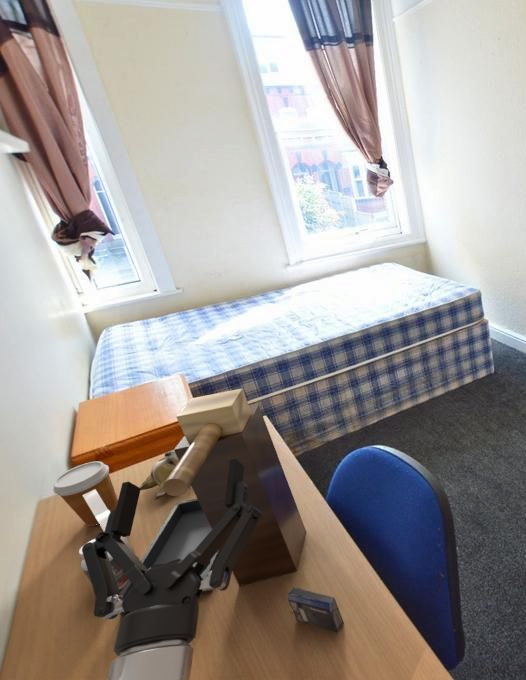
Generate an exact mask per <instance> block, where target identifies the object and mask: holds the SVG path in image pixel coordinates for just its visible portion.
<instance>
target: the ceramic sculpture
mask: <svg viewBox="0 0 526 680" xmlns="http://www.w3.org/2000/svg"><path fill="white" fill-rule="evenodd" d="M178 462H179V460H178V457H177V455H176V453H175V451H174V450H170V451H168V452H165V453H164V457H163V458H160V459H159V460H158V461H157V462H155V463H154V464H153V465H152V468H151V469H150V475H148V476H147V477H146V479H145V480H144V481H143V482H142V483H141V485H139V486H138V487H139V488H141V490H140V491H145V490H146V491H147V490H150V489H153V488H155V487H158V488H157V492H156V495H155V497H154V500H159V499H162V498H164V497H166V496H170V495H169V494H167V493H166V492H165V491H164V489H163V485H164V483H165V481H166V480H167V478H168V477H169V476H170V474H171V473H172V471H173V470H174V468H175V467H176V465H177V464H178Z"/></svg>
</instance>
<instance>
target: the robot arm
mask: <svg viewBox="0 0 526 680" xmlns="http://www.w3.org/2000/svg"><path fill="white" fill-rule="evenodd" d="M243 472H244V466H243V465H242V464H241V463H240V462H239V461H238V460H237V459H231V460H230V464H229V472H228V481H227V490H226V498H225V506H227V507H228V508H229V510H228V511H227V512H226V514H225V515H224V516H223V517H222V518H221V519H220V521H219V522H218V523H217V524H216V525H215V527H214V528H213V529H212V530H211V531H210V532H209V534H208V535H207V536H206V537H205V538H204V539H203V541H202V542H201V543H200V544H199V545H198V547H197V548H196V549H195V550H194V551H192V552H190V553H189V554H188V555H187V556H186V557H185V558H184V559H183V560H181V559H176V560H172V561H170V562H168V563H166V564H155V565H152V566H151V568H149V569H147V568H146V567H145V566H144V565H143V563H142V562H141V559H139V557H138V556H137V555H136V554H134V553H133V552H132V551H131V550H130V548H129V547H128V546H127V545H126V544H125V543H124V541H123V540H122V539H120V538H121V536H122V537H126V538H127V537H130V536H131V533H132V530H133V525H134V520H135V516H136V511H137V507H138V503H139V498H140V494H141V491H142V490H141V488H139V486H137V485H135V484H134V483H132V482H130V481H125V482H122V483H121V487H120V491H119V495H118V498H117V499H118V503H117V506H116V510H113V511H111V512H110V514H109V516H108V520H107V524H106V528H105V532H104V531H100V532H99V533H97V535H96V536H95V538H94V539H95V540H96V541H95V542H93V543H91V542H89V541H88V542H86V543H84V544H83V545H82V546H83V548H82V552H83V556H84V559H85V562H86V566H87V569H88V573H89V576H90V579H91V582H90V583H91V586H92V589H93V593H94V596H95V601H94V608H93V616H94V617H95V618H99V619H106V620H110V621H112V620H114V619H116V618H117V617H118V616H119V615H120V613H121V612H124V615H123V616H122V618H121V619H120V621H119V624H118V629H117V634H116V638H115V643H114V647H113V653H115V655H116V656H117V657H116V658H114V659H113V660H112V661H111V662H110V663H109V668H108V674H107V679H106V680H191V673H192V672H191V671H192V664H193V657H194V647H193V646H192V645H191V643H192V642H193V641H194V640H195V639H196V635H197V628H198V620H199V613H200V604H199V602H200V599H201V596H202V595H201V594H202V592H203V591H206V590H212V591H213V590H218V591H220V592H224V591H226V590H227V589H229V586H230V583H231V577H232V574H233V572H232V569H233V568H234V566H235V564H236V562H237V560H238V558H239V556H240V554H241V553H242V551H243V549H244V547H245V545H246V543H247V541H248V539H249V538H250V536H251V534H252V532H253V530H254V528H255V526H256V524H257V523H258V521H259V519H260V517H261V512H260V511H259V510H258V509H257V508H255V507H254V506H252V505H249V506H247V498H248V486H247V485H246V484H245V483H244V482H243ZM227 539H228V540H227ZM226 540H227V542H226ZM225 542H226V544H225V545H224V547H223V549H222V551H221V553H220V554H219V556H218V558H217V560H216V562H215V564H214V566H213V569H212V571H209V572H208V573H207V577H206V578H205V579H204V580H203V579H202V577H201V576H200V575H201V574H202V573H203V572H204V570H205V569H206V568H207V567H208V566H209V564H210V561H211V559H212V557H213V556H214V555H215V554H216V553H217V551H218V550H219V549H220V548H221V546H222V545H223V544H224V543H225ZM107 552H108V553H109V554H110V555H111V556H112V558H113V559H114V560H115V561H116V562H117V563H118V565H119V566H120V567H121V568H122V569H123V571H124V572H125V573H126V574H125V575H126V577H127V578H128V579H129V580H130V581H131V583H132V584H133V585H134V587H133V588H132V589H131V590H130V591H129V593H128V594H127V595H126V596H125V598H124V599H123V597H122V596H120V593H121V591H120V590H119V588H118V585H117V582H116V579H115V576H114V573H113V570H112V567H111V564H110V561H109V557H108V554H107ZM194 563H197V564H196V565H195V566H193V564H194Z"/></svg>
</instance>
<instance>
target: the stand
mask: <svg viewBox="0 0 526 680" xmlns="http://www.w3.org/2000/svg"><path fill="white" fill-rule="evenodd" d="M249 407H250V409H251V412H252V414H251V416H250V418H249V420H248V422H247V424H246V426H245V427H244V429H243V431H242V432H239V433H235V434H230V435H225V436H221V437H219V439H218V440H217V442H216V444H215V445H214V447H213V449H212V450H211V452H210V454H209V455H208V457H207V459H206V460H205V462H204V464H203V465H202V467H201V468H200V470H199V472H198V473H197V475H196V477H195V478H194V480H193V482H192V483H191V485H190V487H191V490H193V493H194V495H195V498H197V499H198V501H199V503H200V505H201V507H202V509H203V512H204V514H205V516H206V518H207V520H208V522H209V524H210V526H211V528H212V529H213V528H214V527H215V525H216V524H217V523H218V522H219V521H220V519H221V518H222V517H223V516H224V515H225V514H226V512H227V511H228V510H229V508H228V507H227V506H225V498H226V490H227V481H228V472H229V464H230V460H231V459H237V460H238V461H239V462H240V463H241V464H242V465H243V466H244V472H243V482H244V483H245V484H246V485H247V486H248V498H247V506H249V505H252V506H254V507H255V508H257V509H258V510H259V511H260V512H261V517H260V519H259V521H258V523H257V524H256V526H255V528H254V530H253V532H252V534H251V536H250V538H249V539H248V541H247V543H246V545H245V547H244V549H243V551H242V553H241V554H240V556H239V558H238V560H237V562H236V564H235V566H234V568H233V569H232V574H233V576H234V578H235V580H236V582H237V584H238V586H239V587H240V586H245V585H248V584H252V583H257V582H261V581H264V580H267V579H272V578H275V577H280V576H283V575H287V574H291V573H294V572H298V568H299V564H300V560H301V556H302V551H303V547H304V543H305V539H306V534H307V530H306V527H305V524H304V521H303V518H302V517H301V513H300V510H299V508H298V506H297V503H296V501H295V498H294V494H293V493H292V490H291V489H292V488H291V487H290V484H289V481H288V479H287V476H286V474H285V471H284V469H283V466H282V463H281V460H280V458H279V455H278V452H277V450H276V447H275V445H274V442H273V439H272V437H271V434H270V432H269V428H268V426H267V423H266V420H265V419H264V415H263V413H262V409H261V408H260V405H259V404H256V405H251V406H249ZM191 444H192V443H188V441H187V439H186V437H185V435H184V436H183V437H182V438H181V439H180V440H179V442H178V444H176V446H175V448H174V449H173V451H175V453H176V455H177V457H178V460H179V461H180V460H181V458H182V457H183V455H184V454H185V452H186V451H187V449H188V448H189V447H190V445H191ZM227 540H228V539H227ZM227 540H226V542H227ZM226 542H225V543H224V544H223V545H222V546H221V549H223V547H224V545H225V544H226Z"/></svg>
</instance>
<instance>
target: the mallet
mask: <svg viewBox="0 0 526 680" xmlns="http://www.w3.org/2000/svg"><path fill="white" fill-rule="evenodd" d="M250 407H251V406H250V404H249V402H248V398H247V397H246V394H245V391H244V388H238V389H237V388H236V389H233V390H227V391H222V392H217V393H216V392H215V393H212V394H207V395H201V396H197V397H191V398H190V399H189V400H188V402H187V403H186V404H185V405H184V406H183V408H182V409H181V410H180V411H179V413H178V414H177V415H176V419H177V423H178V424H179V426H180V429H181V430H182V433H183V435H184V436H185V437H186V439H187V441H188V443H192V444H191V445H190V447H189V448H188V449H187V451H186V452H185V454H184V455H183V457H182V458H181V460H180V461H179V462H178V464H177V465H176V467H175V468H174V470H173V471H172V473H171V474H170V476H169V477H168V478H167V480H166V481H165V483H164V485H163V489H164V491H165V492H166V493H167V494H169V495H168V496H172V497H180V496H183V495H185V494H186V493H187V491H188V490H189V488H190V487H191V483H192V482H193V480H194V478H195V477H196V475H197V473H198V472H199V470H200V468H201V467H202V465H203V464H204V462H205V460H206V459H207V457H208V455H209V454H210V452H211V450H212V449H213V447H214V445H215V444H216V442H217V440H218V439H219V437H221V436H225V435H230V434H235V433H239V432H242V431H243V429H244V427H245V426H246V424H247V422H248V420H249V418H250V416H251V414H252V412H251V409H250Z"/></svg>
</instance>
